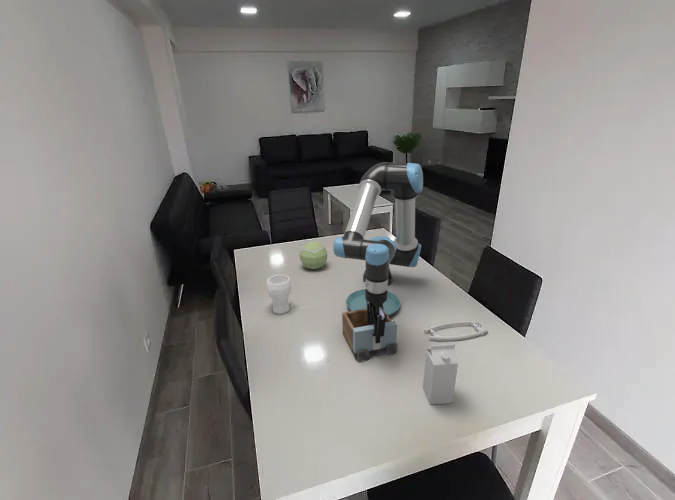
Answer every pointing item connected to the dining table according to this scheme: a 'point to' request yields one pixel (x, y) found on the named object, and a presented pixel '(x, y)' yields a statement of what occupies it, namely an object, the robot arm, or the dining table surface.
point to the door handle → (454, 338)
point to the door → (365, 337)
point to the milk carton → (440, 373)
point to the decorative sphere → (313, 255)
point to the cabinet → (360, 320)
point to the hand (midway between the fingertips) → (374, 346)
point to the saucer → (359, 302)
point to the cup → (279, 292)
